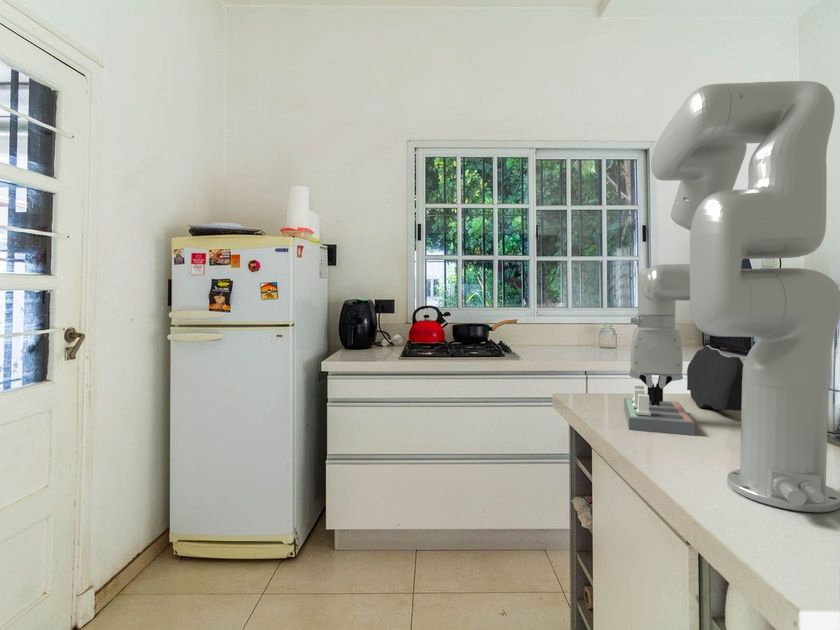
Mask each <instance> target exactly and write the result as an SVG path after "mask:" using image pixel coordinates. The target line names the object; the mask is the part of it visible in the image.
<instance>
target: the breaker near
mask: <svg viewBox="0 0 840 630" xmlns="http://www.w3.org/2000/svg"><path fill="white" fill-rule="evenodd" d="M636 413H637V415H650V416H651V412H650V410H649V395H648V393H647V394H638V409H636Z"/></svg>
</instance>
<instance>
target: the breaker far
mask: <svg viewBox="0 0 840 630" xmlns="http://www.w3.org/2000/svg"><path fill="white" fill-rule="evenodd" d="M634 389H644V390H645V385H644V384H638V383H637V384H636V383H635V384H633V390H634ZM631 399H632V401H633V403H634V397H632V398H631Z"/></svg>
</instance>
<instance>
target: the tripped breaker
mask: <svg viewBox="0 0 840 630" xmlns="http://www.w3.org/2000/svg"><path fill="white" fill-rule="evenodd" d="M645 393H646V392H645V388H644V389H634V388H633V398H634V403H632V406H633V408H638V394H645Z"/></svg>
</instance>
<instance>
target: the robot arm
mask: <svg viewBox="0 0 840 630" xmlns="http://www.w3.org/2000/svg"><path fill="white" fill-rule="evenodd" d="M835 107H836V106H835V100H834V95H833V93H832V92H831V90H830V89H829V87H827V86H826V85H825V84H823V83H820V82H817V81H812V80H811V81H808V80H789V81H788V80H787V81H757V82H755V81H754V82H733V83H730V82H729V83H724V82H723V83H714V84H713V83H710V84H706V85H704V86H701V87H699V88H697V89H696V90H694V91H693V92H692V93H691V94H690V95H689V96H688V97H687V98H686V99H685V101H684V102H683V103H682V105H681V106H680V107H679V109H678V110H677V112H676V113H675V114H674V116H673V117H672V118H671V120H670V121H669V122H668V123H667V125H666V126H665V128H664V130H663V131H662V133H661V134H660V135H659V138H658V139H657V141H656V144H655V146H654V149H653V152H652V155H651V162H650V167H651V168H650V169H651V173H652V175H653V176H654V178H656V180H659V181H664V182H665V181H666V182H667V181H669V182H670V181H673V182H674V181H679V185H678V188H677V191H676V194H675V198H674V202H673V204H672V207H671V210H670V211H671V212H670V218H671V220H672V222H674V223H675V224H676V225H678V226H680V227H681V228H684V229H685V230H688V231H690V232H689V233H690V234H689V263H675V264H673V263H670V264H663V263H662V264H655V265H653V266H651V267H646V268H642V269H641V270H639V272H638V276H637V277H638V278H637V281H638V282H637V316H634V317H630V324H634V325H636V326H637V328H634V329H633V332H632V333H633V334H632V340H631V346H630V347H631V348H630V349H631V350H630V370H629V375H628V376H629V377H631V378H633V379H637V380H641V381H642V382H643V383H644V384H645V385H646V386H647V394H648V395H649V401H651V405H652V406H654V405H655V404H656V405H657V406H660V402H663V401H664V388H665V387H666V386H667V385H669V383H671V382H673V381H681V380H683V378H684V376H683V367H684V366H683V344H682V338H681V337H682V336H681V332H680V329H676V302H677V301H689V302H690V304H689V305H690V312H691V318H692V320H693V323H694V325H695V326H696V327H697V329H698V330H699V331H701V332H702V333H704V334H706V335H709V336H712V337H724V338H726V337H728V338H729V337H730V338H742V337H743V338H749V337H750V338H758V339H757V340H756V341H755V343H754V344H753V346H752V347H751V349H749V352H748V354H747V355H746V357H745V359H744V361H743V362H744V365H743V374H742V410H741V411H740V412H741V414H740V415H741V416H740V417H741V420H740V427H741V428H740V459H739V460H740V462H739V465H740V466H739V469H735V470H732V471H730V472H728V474H727V475H726V476H727V477H726V481H727V482H726V483H727V485H728V486H729V487H730V488H731V489H732V490H733V491H735V492H736V493H738V494H739V495H741V496H743V497H746V498H748V499H751V500H752V501H756V502H759V503H762V504H763V505H764V504H765V505H769V506H771V507H772V506H773V507H775V508H779V509H780V508H781V509H785V510H790V511H791V510H792V511H796V512H807V513H827V512H834V511H836V510H838V509H840V494H839V493H838V491H837V490H835V489H833V488H832V487H830V486H828V485H827V460H828V459H827V458H828V457H827V456H828V426H829V425H828V421H829V394H830V393H829V391H830V390H829V388H830V375H831V374H830V372H831V359H832V358H831V357H832V348H833V344H834V343H833V342H834V339H835V335H836V331H837V327H838V324H839V321H840V287H839V285H838V284H837V283H836V282H835V280H834V279H832V278H831V277H829V276H828V275H827V274H826V273H825V274H824V273H822V272H820V271H818V270H815V269H808V268H800V267H769V268H768V267H767V268H766V267H763V268H762V267H761V268H742V265H743V264H742V263H743V260H746V259H748V260H757V259H760V260H761V259H762V260H763V259H770V260H771V259H792V258H793V259H794V258H800V257H803V256H808V255H810V254H812V253H814V252H816V250H818V249H819V247H820V246H821V245H822V243H823V241H824V239H825V234H826V231H827V230H826V229H827V188H828V187H827V177H828V176H827V175H828V174H827V171H828V170H827V169H828V167H827V153H828V152H827V151H828V145H829V140H830V139H829V138H830V135H831V131H832V128H833V124H834V119H835V113H836V111H835V109H836V108H835ZM747 144H758V145H757V147H756V148H755V150H754V152H753V154H752V155H751V157H750V159H749V163H748V171H747V172H748V187H747V189H734V187H735V184H736V182H737V179H738V176H739V173H740V170H741V168H742V165H743V163H744V161H745V157H746V154H747V148H748V147H747ZM653 375H655V376H657V375H658V377H657V378H658V379H657V382H656V384H655V383H653V382H654V381H653Z"/></svg>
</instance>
